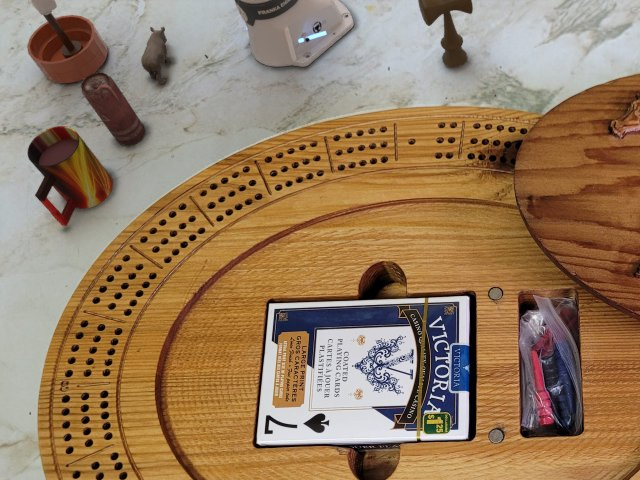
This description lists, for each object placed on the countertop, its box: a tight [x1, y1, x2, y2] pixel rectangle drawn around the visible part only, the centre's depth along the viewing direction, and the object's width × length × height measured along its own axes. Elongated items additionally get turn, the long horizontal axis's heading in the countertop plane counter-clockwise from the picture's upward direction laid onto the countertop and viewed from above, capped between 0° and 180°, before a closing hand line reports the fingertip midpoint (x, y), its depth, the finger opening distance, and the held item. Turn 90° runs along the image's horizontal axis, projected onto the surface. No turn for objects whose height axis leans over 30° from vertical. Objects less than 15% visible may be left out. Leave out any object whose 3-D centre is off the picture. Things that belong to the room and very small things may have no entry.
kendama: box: [417, 0, 474, 68], centre depth 159 cm, size 6×10×20 cm, turn 110°
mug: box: [27, 125, 114, 227], centre depth 154 cm, size 10×14×12 cm
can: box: [80, 71, 146, 147], centre depth 160 cm, size 6×6×14 cm
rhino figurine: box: [140, 26, 172, 85], centre depth 172 cm, size 4×14×6 cm, turn 1°
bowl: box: [26, 14, 109, 84], centre depth 174 cm, size 14×14×6 cm
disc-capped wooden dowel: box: [42, 12, 84, 59], centre depth 168 cm, size 4×4×16 cm
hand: (44, 8), depth 164 cm, fingers closed on disc-capped wooden dowel, 2 cm apart
